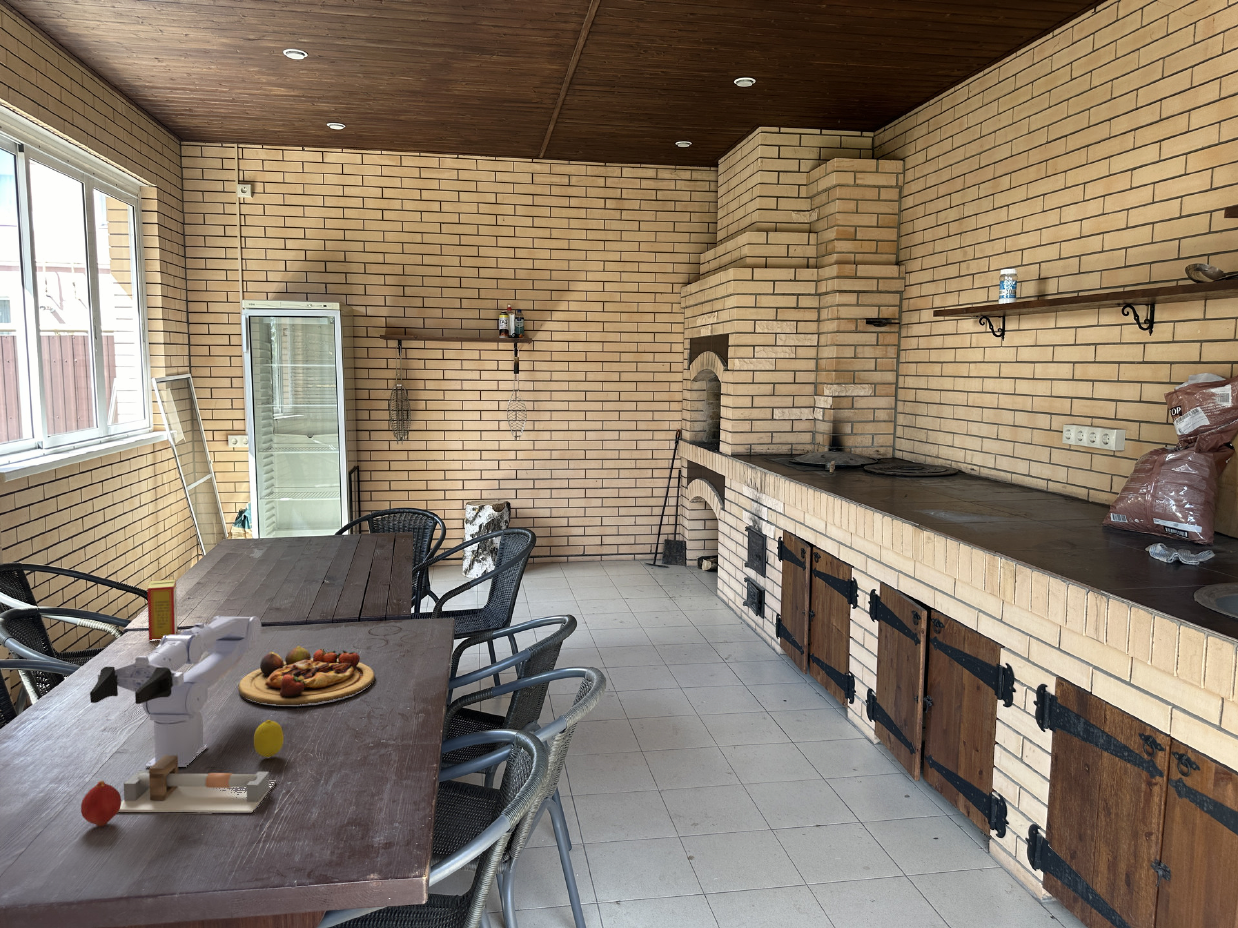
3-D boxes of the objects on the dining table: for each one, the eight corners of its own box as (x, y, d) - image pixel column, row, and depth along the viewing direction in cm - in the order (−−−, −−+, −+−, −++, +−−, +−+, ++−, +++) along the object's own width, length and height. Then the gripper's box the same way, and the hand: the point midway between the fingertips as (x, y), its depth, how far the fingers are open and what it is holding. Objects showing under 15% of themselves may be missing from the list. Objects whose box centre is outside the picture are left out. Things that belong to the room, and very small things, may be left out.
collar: (150, 799, 147) (149, 768, 146) (165, 785, 152) (164, 755, 151) (163, 800, 147) (162, 768, 146) (178, 785, 152) (177, 755, 152)
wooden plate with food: (331, 716, 188) (332, 681, 187) (208, 701, 194) (208, 667, 193) (396, 672, 219) (397, 642, 218) (288, 660, 225) (289, 631, 225)
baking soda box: (174, 639, 239) (173, 585, 237) (149, 641, 236) (147, 587, 234) (177, 630, 247) (175, 578, 246) (152, 632, 245) (150, 579, 243)
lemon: (287, 752, 169) (287, 714, 168) (277, 764, 163) (277, 725, 162) (260, 751, 169) (259, 714, 168) (249, 764, 163) (248, 725, 162)
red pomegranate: (76, 826, 139) (74, 781, 138) (113, 812, 144) (111, 769, 143) (89, 838, 136) (88, 792, 135) (127, 824, 140) (126, 779, 139)
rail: (113, 812, 144) (112, 787, 143) (147, 782, 155) (146, 758, 154) (252, 813, 145) (251, 788, 144) (276, 783, 156) (276, 760, 155)
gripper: (116, 646, 155) (70, 675, 142) (194, 647, 156) (156, 676, 142) (118, 681, 157) (73, 713, 143) (196, 683, 157) (158, 715, 143)
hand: (114, 697), depth 143 cm, fingers open, 7 cm apart
